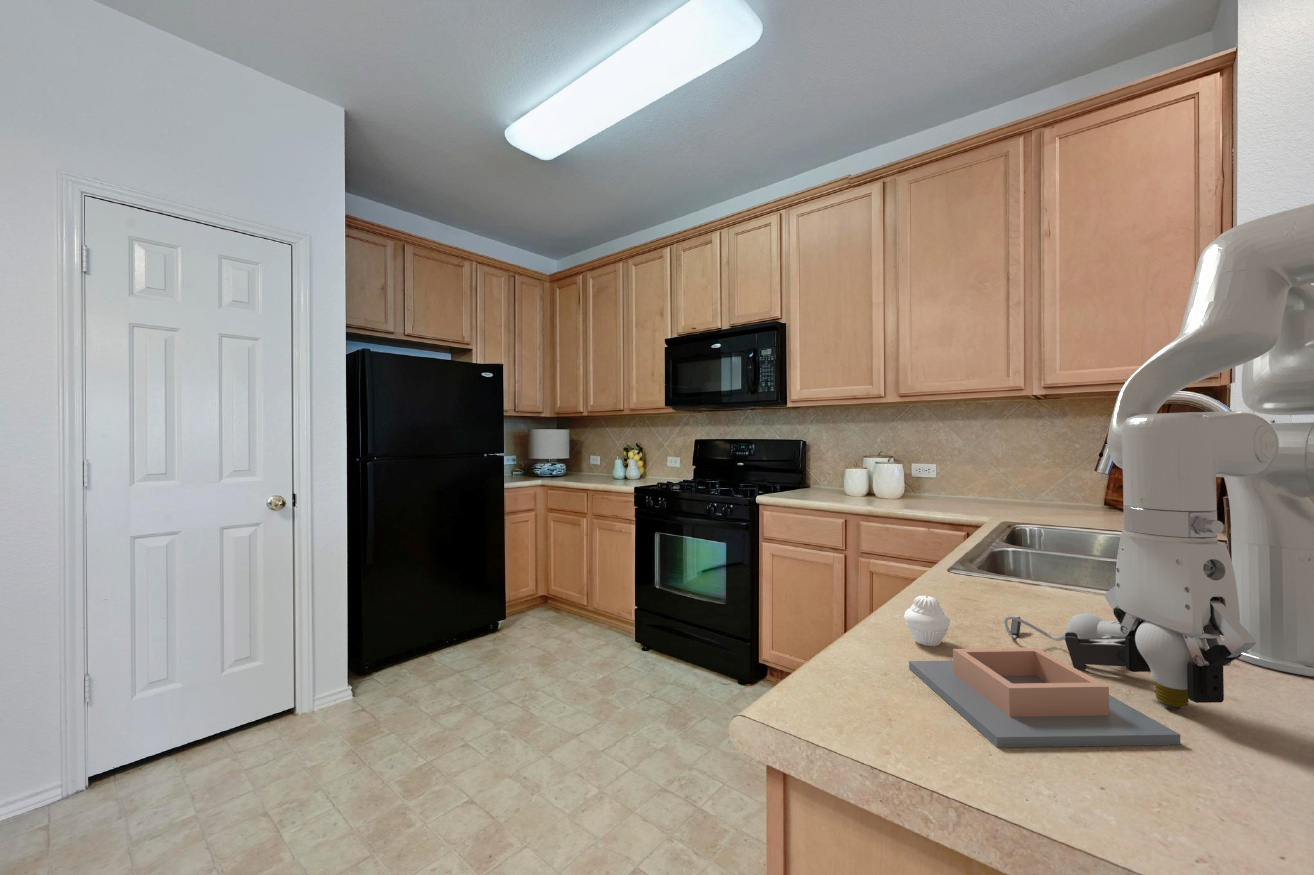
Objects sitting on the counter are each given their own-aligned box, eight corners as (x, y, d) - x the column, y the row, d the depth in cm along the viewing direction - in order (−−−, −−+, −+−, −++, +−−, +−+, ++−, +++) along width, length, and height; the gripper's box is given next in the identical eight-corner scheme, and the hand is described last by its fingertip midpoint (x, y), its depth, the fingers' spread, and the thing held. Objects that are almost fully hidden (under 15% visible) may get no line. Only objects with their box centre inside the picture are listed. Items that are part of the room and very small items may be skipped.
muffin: (960, 646, 77) (959, 597, 77) (930, 653, 75) (929, 603, 75) (924, 632, 83) (923, 587, 83) (895, 638, 81) (894, 592, 81)
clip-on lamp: (991, 663, 78) (1144, 682, 63) (978, 619, 79) (1126, 628, 64) (1030, 639, 85) (1178, 651, 69) (1017, 599, 86) (1161, 602, 70)
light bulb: (1219, 727, 55) (1217, 630, 55) (1143, 712, 58) (1141, 621, 58) (1199, 703, 60) (1198, 614, 60) (1131, 690, 63) (1129, 606, 63)
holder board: (1045, 666, 70) (1044, 636, 70) (1180, 744, 52) (1179, 703, 52) (909, 668, 70) (908, 638, 70) (997, 747, 52) (996, 706, 52)
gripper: (1295, 537, 51) (1299, 726, 50) (1132, 513, 68) (1134, 653, 68) (1217, 538, 50) (1221, 727, 50) (1073, 513, 68) (1076, 654, 68)
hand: (1171, 683), depth 59 cm, fingers open, 6 cm apart
